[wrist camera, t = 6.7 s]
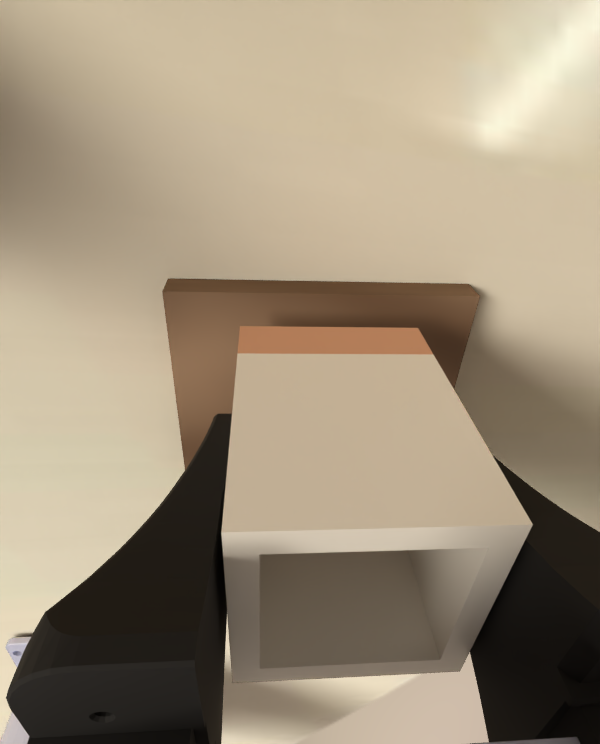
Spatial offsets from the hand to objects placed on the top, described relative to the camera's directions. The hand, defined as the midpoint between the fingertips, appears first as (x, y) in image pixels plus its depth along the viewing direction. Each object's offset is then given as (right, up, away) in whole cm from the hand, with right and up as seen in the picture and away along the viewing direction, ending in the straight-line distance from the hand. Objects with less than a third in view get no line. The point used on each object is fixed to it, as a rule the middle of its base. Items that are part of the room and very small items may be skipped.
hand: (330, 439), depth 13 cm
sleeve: (0, +1, +2) cm, 2 cm away
